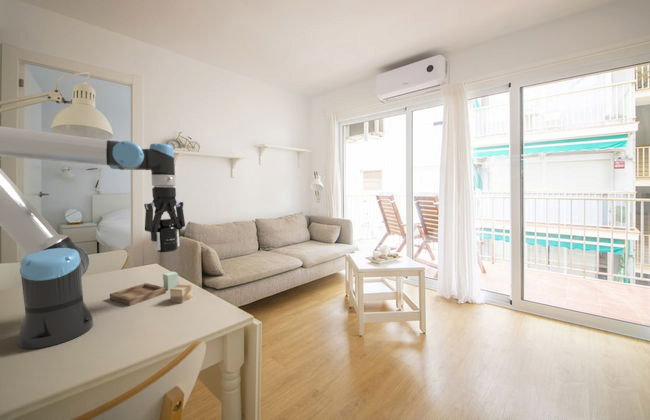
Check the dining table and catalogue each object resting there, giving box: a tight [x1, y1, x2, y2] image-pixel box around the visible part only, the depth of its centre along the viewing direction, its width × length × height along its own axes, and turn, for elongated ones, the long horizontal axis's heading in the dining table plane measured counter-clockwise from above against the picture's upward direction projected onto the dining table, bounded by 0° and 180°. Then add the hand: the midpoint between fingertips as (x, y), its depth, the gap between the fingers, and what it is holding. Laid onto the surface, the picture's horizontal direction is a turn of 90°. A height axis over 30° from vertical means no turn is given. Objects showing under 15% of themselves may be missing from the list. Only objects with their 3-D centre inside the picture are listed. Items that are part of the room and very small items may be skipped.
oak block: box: [169, 283, 193, 304], centre depth 101 cm, size 5×5×5 cm
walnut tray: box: [109, 282, 167, 307], centre depth 104 cm, size 13×13×2 cm
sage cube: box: [162, 271, 179, 291], centre depth 113 cm, size 4×4×6 cm
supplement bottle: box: [156, 218, 178, 253], centre depth 103 cm, size 7×7×12 cm
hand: (167, 247), depth 104 cm, fingers closed on supplement bottle, 7 cm apart
